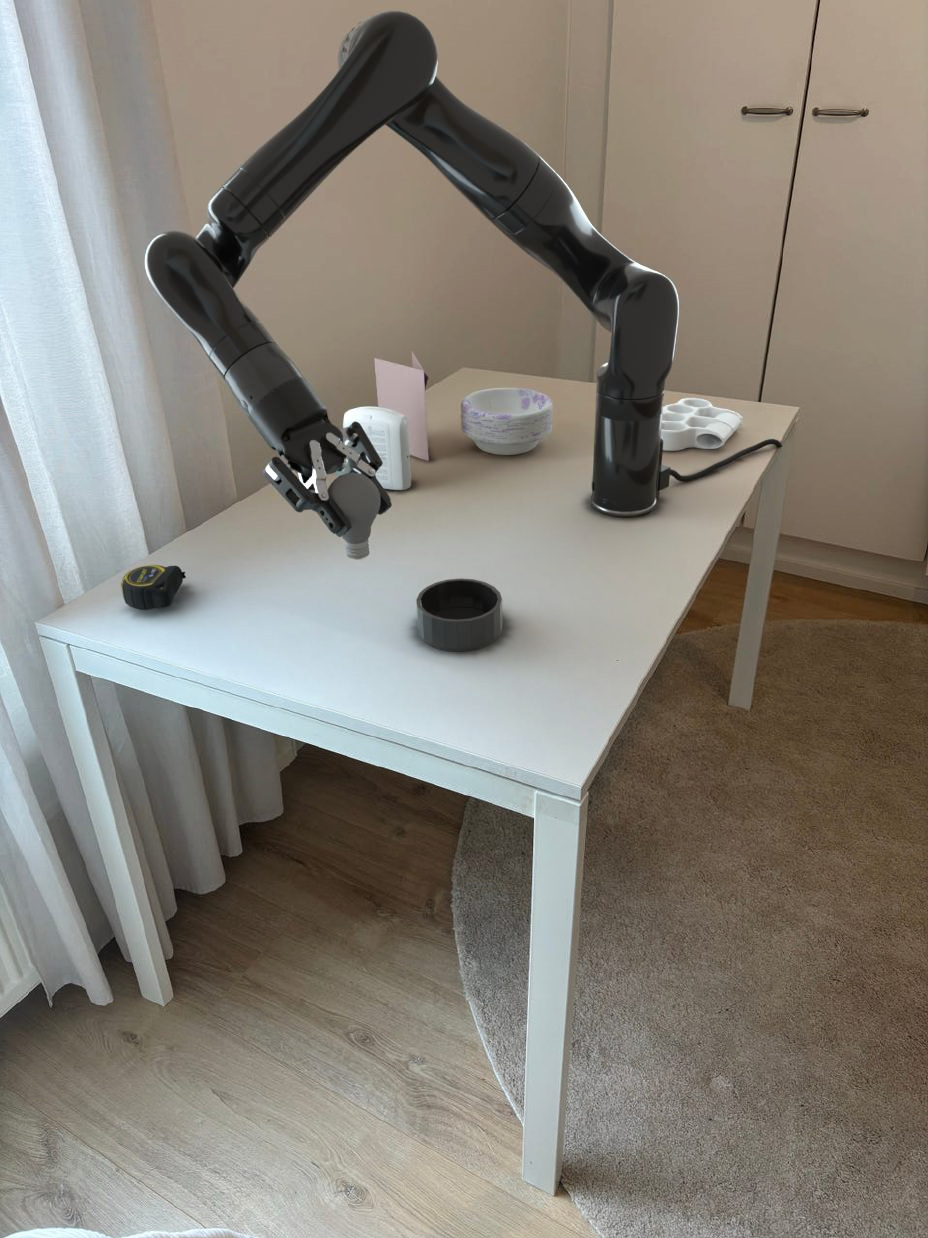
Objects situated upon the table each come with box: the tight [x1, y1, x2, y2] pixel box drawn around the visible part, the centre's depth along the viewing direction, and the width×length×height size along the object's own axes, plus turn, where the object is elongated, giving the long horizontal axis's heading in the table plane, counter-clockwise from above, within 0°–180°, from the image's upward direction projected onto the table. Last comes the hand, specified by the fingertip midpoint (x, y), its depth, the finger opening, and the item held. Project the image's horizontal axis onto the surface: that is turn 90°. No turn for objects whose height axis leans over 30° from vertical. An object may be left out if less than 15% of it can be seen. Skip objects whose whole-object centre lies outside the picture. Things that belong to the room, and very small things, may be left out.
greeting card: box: [374, 351, 430, 462], centre depth 156 cm, size 11×7×15 cm, turn 12°
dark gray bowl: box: [415, 577, 503, 652], centre depth 110 cm, size 10×10×4 cm
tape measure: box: [120, 564, 187, 611], centre depth 118 cm, size 7×7×4 cm
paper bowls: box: [460, 387, 554, 456], centre depth 158 cm, size 15×15×8 cm
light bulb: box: [327, 473, 381, 560], centre depth 104 cm, size 6×6×10 cm
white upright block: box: [342, 406, 412, 491], centre depth 145 cm, size 10×4×12 cm, turn 72°
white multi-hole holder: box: [661, 397, 744, 452], centre depth 162 cm, size 3×18×15 cm
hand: (366, 520), depth 104 cm, fingers closed on light bulb, 6 cm apart
